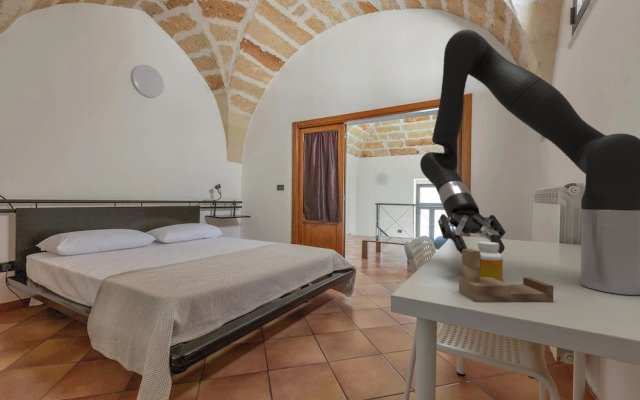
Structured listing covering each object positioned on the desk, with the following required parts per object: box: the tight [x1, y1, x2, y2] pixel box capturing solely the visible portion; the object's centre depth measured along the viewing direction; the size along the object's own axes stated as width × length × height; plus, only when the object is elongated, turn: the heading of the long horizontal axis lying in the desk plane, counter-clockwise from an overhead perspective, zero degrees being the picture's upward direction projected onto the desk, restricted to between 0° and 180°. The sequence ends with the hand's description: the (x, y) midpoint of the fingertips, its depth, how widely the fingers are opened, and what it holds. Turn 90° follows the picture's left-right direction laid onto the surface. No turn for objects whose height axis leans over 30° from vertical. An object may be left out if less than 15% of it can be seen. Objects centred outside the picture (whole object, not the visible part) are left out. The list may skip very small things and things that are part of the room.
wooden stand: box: [458, 248, 554, 303], centre depth 55 cm, size 15×6×9 cm, turn 91°
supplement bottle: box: [477, 241, 504, 282], centre depth 61 cm, size 5×5×10 cm
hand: (482, 251), depth 63 cm, fingers open, 8 cm apart
